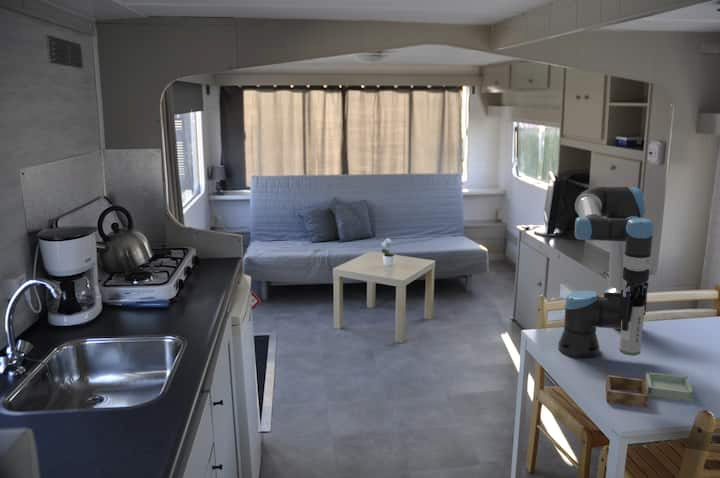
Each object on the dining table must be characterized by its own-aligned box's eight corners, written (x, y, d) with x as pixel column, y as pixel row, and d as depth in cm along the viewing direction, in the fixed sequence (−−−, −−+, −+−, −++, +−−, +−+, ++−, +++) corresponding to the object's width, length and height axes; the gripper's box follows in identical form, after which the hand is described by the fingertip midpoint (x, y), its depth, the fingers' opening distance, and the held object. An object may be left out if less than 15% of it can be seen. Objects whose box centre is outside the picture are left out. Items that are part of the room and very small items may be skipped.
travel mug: (618, 346, 200) (623, 289, 195) (640, 349, 198) (645, 291, 193) (617, 354, 195) (622, 295, 190) (640, 357, 192) (645, 298, 187)
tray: (648, 395, 199) (649, 387, 199) (644, 379, 210) (645, 371, 210) (692, 401, 195) (693, 393, 194) (686, 384, 206) (687, 376, 205)
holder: (606, 402, 196) (607, 390, 195) (605, 385, 207) (606, 374, 206) (647, 407, 192) (648, 396, 191) (643, 390, 203) (644, 379, 202)
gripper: (633, 277, 180) (627, 348, 186) (662, 263, 192) (655, 331, 198) (609, 272, 186) (604, 341, 192) (639, 259, 198) (633, 324, 204)
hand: (630, 336), depth 195 cm, fingers closed on travel mug, 6 cm apart
